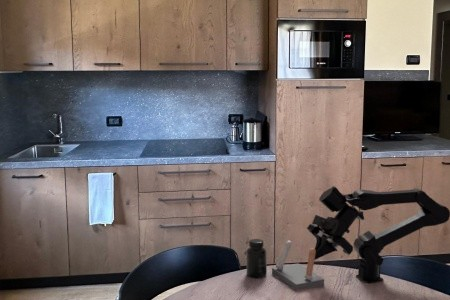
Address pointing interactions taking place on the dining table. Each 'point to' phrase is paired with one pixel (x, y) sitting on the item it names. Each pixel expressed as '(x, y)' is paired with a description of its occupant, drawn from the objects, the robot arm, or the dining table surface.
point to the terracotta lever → (310, 264)
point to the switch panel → (297, 277)
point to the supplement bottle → (256, 259)
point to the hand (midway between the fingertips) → (313, 258)
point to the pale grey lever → (284, 255)
